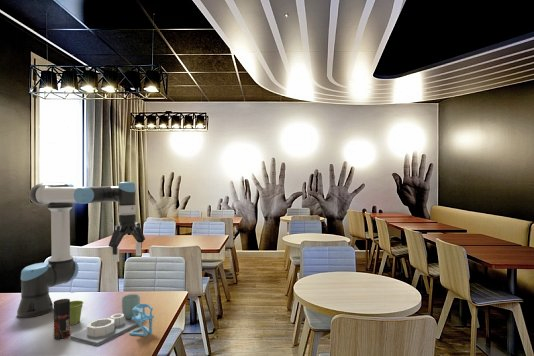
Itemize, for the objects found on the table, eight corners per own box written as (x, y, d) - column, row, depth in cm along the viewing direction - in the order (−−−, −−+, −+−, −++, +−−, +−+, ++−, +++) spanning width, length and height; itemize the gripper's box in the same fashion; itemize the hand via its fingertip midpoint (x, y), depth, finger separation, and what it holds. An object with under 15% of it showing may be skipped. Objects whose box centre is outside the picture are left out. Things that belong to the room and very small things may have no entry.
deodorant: (58, 334, 151) (57, 299, 151) (72, 333, 152) (72, 298, 152) (51, 340, 145) (50, 303, 145) (66, 339, 146) (65, 303, 146)
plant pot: (59, 328, 157) (59, 308, 157) (61, 321, 166) (60, 302, 166) (83, 324, 162) (83, 305, 162) (83, 317, 170) (83, 299, 170)
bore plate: (70, 338, 146) (70, 327, 146) (113, 319, 166) (113, 309, 166) (97, 345, 140) (97, 334, 140) (139, 325, 160) (139, 314, 160)
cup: (133, 321, 164) (133, 299, 164) (118, 320, 165) (118, 299, 165) (143, 315, 171) (142, 294, 171) (128, 314, 173) (128, 293, 173)
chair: (141, 339, 145) (141, 309, 145) (128, 334, 150) (128, 306, 150) (156, 332, 152) (156, 304, 152) (143, 328, 156) (143, 300, 156)
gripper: (111, 216, 157) (112, 264, 157) (151, 212, 180) (152, 253, 179) (99, 216, 160) (100, 263, 160) (140, 211, 183) (141, 252, 182)
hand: (127, 258), depth 170 cm, fingers open, 13 cm apart
